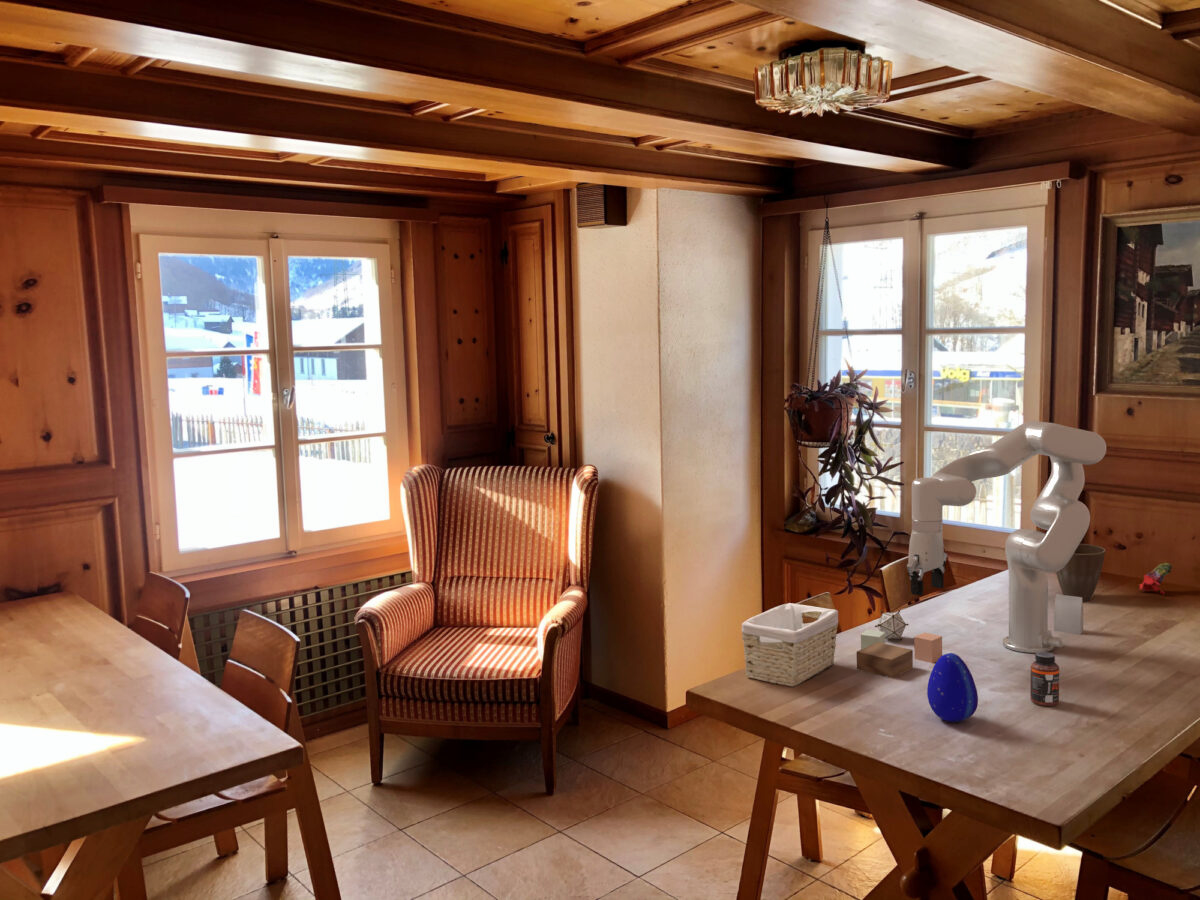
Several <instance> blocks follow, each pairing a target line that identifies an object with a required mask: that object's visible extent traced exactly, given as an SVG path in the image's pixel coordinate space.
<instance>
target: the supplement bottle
mask: <svg viewBox="0 0 1200 900" xmlns="http://www.w3.org/2000/svg"><path fill="white" fill-rule="evenodd" d="M1055 661H1056V655H1055V654H1054V653H1052V652H1049V651H1048V652H1038V653H1035V660H1034V661H1033V662H1031V665H1030V693H1029V695H1030V701H1031V702H1032V703H1033V704H1035V705H1038V706H1042V707H1054V706H1057V705H1058V704H1059V702H1060V666H1059V665H1058V663H1056V662H1055Z"/></svg>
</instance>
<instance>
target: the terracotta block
mask: <svg viewBox="0 0 1200 900" xmlns="http://www.w3.org/2000/svg"><path fill="white" fill-rule="evenodd" d="M913 638H914V639H913V642H914V644H913V645H914V660H918V661H922V662H926V663H930V664H933V663H936V662H937V661H938V659H939V658H940V657H941V656H943V636H942V635H939V634H933V633H929V632H923V633H919V634H917V635H916V636H914V637H913Z"/></svg>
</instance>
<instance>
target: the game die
mask: <svg viewBox="0 0 1200 900" xmlns="http://www.w3.org/2000/svg"><path fill="white" fill-rule="evenodd" d="M880 613H881V615H880V617H879V620H878V624H877V625H874V628H878V631H881V632H885V640H886V639H900V641H903V638H902V636H903V633H904V632H905V629H906V626H910V624H909V623H906V622H905V620H904V619H903V617H902V616H901V609H899V610H897V612H883V610H880Z"/></svg>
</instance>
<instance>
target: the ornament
mask: <svg viewBox="0 0 1200 900" xmlns="http://www.w3.org/2000/svg"><path fill="white" fill-rule="evenodd" d="M928 678H929V679H928V682H927V688H926V690H927V692H926V695H927V701H928V703H929V706H930V708H931V710H932V711H933V713H934V715H936V716H937V717H938V718H940V719H941V720H944V721H946V722H951V723H953V722H954V723H955V722H963V721H965V720H966V721H967V719H969V718H971V717H972V716H973V715H974V714H975V713H976V712H977V708H978V705H979V704H978V703H979V696H978V690H977V686H976V683H975V680H974V677H973V674H972V673H971V671H970V668H969V667H968V666H967V664H966V663H965V661H964V660H963V659H962V657H960V656H959V655H958V654H956V653H953V652H949V653H945V654H942V656H941V657H940V658H939V659H938V661H936V662H935V664H934V665H933V668H932V670H931V672H930V674H929V677H928Z"/></svg>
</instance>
